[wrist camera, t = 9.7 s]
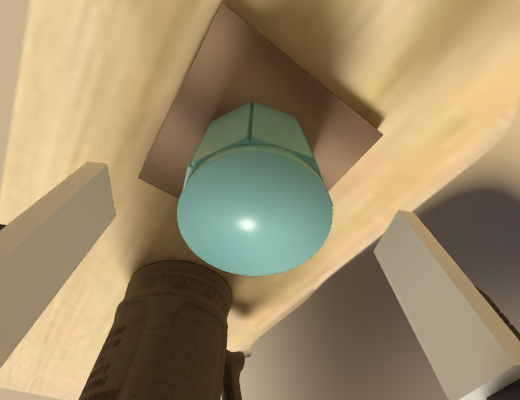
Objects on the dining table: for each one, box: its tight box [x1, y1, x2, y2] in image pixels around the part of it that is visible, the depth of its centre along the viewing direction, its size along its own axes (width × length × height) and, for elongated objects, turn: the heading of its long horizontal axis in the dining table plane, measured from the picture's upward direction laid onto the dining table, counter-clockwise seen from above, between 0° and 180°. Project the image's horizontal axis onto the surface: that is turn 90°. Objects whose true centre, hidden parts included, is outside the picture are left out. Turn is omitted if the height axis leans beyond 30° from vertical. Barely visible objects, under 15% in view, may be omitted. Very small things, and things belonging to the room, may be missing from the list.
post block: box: [138, 3, 383, 199], centre depth 15 cm, size 12×12×7 cm
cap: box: [177, 102, 334, 276], centre depth 15 cm, size 7×7×7 cm
